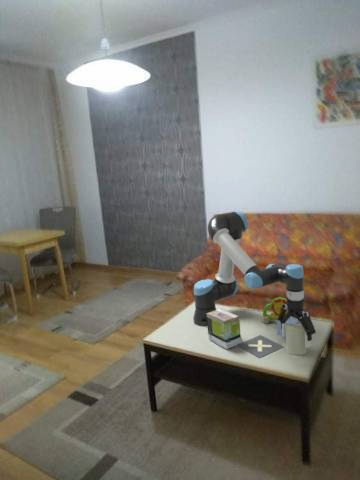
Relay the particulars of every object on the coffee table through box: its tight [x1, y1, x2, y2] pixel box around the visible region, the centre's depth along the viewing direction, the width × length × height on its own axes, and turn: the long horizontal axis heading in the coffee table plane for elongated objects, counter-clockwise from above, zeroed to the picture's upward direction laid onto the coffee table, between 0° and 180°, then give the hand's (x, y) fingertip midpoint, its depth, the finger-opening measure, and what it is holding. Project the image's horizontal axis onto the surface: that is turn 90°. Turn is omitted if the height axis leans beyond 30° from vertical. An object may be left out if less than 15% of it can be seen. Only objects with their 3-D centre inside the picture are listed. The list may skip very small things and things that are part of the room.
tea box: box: [206, 308, 242, 350], centre depth 183 cm, size 15×10×15 cm, turn 32°
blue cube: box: [276, 317, 301, 339], centre depth 184 cm, size 8×8×8 cm
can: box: [285, 323, 308, 356], centre depth 168 cm, size 9×9×12 cm
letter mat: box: [236, 334, 285, 359], centre depth 176 cm, size 16×16×1 cm
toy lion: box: [262, 296, 289, 325], centre depth 197 cm, size 16×5×15 cm, turn 63°
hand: (296, 341), depth 169 cm, fingers open, 13 cm apart
